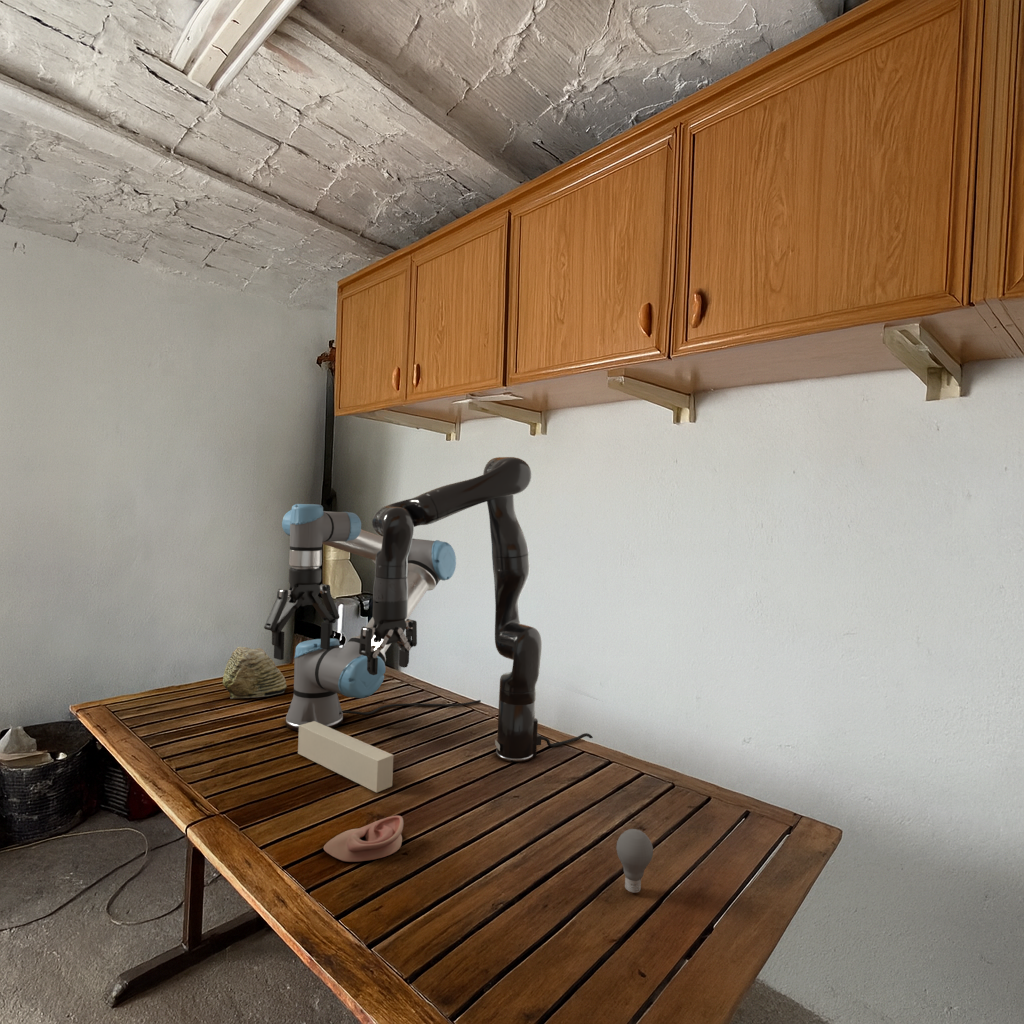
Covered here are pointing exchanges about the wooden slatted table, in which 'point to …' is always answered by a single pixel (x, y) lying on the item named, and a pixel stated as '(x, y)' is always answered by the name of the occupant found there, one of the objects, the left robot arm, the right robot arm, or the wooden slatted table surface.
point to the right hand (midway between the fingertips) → (388, 670)
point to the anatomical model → (367, 841)
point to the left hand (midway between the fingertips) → (302, 653)
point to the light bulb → (634, 857)
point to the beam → (346, 756)
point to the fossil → (252, 674)
